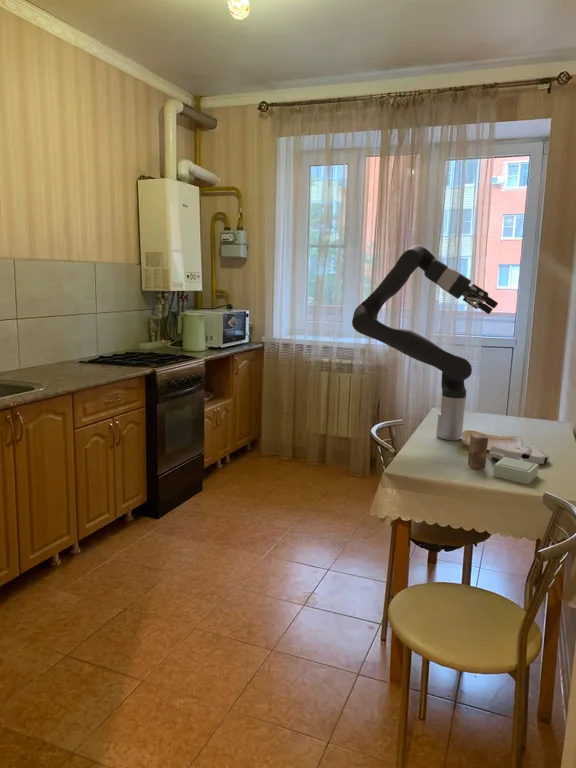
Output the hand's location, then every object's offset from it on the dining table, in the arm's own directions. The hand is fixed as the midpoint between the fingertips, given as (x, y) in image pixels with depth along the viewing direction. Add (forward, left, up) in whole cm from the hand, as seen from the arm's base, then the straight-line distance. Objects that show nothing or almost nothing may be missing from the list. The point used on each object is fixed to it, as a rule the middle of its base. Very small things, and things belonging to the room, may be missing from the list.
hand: (493, 308), depth 194 cm
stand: (+16, -9, -53) cm, 56 cm away
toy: (+11, +10, -54) cm, 56 cm away
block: (+3, -9, -54) cm, 54 cm away
